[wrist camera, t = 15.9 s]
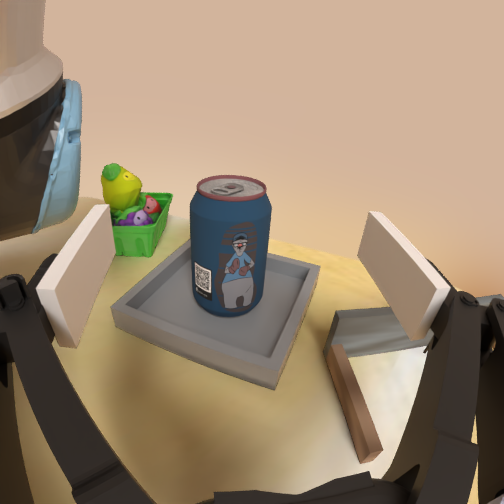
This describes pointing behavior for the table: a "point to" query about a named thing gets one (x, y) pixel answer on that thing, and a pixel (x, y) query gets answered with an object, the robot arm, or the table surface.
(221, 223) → the soda can
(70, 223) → the table surface
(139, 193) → the fruit basket
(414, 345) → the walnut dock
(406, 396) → the table surface
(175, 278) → the grey tray
